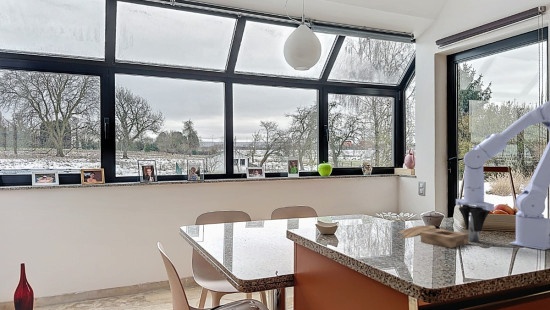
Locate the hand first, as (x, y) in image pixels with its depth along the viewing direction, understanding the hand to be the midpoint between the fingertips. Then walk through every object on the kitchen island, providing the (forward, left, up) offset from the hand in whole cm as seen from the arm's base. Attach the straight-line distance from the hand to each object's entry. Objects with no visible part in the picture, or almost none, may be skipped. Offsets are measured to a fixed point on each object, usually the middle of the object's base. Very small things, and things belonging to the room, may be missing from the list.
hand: (473, 230), depth 128 cm
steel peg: (0, 0, -3) cm, 3 cm away
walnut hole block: (+4, +10, -3) cm, 11 cm away
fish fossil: (+20, +3, -4) cm, 21 cm away
